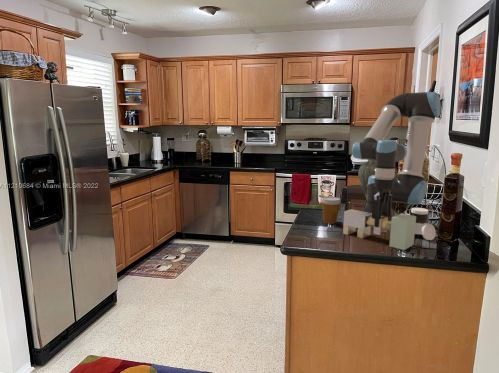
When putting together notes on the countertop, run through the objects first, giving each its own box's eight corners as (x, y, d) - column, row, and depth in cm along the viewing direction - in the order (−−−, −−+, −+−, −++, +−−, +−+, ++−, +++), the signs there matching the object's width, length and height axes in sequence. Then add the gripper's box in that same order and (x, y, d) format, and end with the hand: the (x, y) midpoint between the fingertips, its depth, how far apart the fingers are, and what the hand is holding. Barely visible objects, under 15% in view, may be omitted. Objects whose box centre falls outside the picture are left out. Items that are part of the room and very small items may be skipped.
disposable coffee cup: (340, 220, 182) (341, 197, 180) (339, 225, 173) (340, 201, 171) (320, 218, 185) (321, 195, 183) (319, 223, 176) (320, 199, 174)
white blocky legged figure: (350, 230, 166) (351, 209, 164) (370, 235, 159) (372, 213, 157) (342, 233, 161) (343, 211, 159) (363, 238, 154) (364, 216, 152)
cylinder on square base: (352, 222, 164) (352, 210, 163) (395, 232, 150) (396, 219, 149) (346, 224, 160) (347, 212, 159) (390, 234, 146) (391, 221, 145)
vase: (390, 200, 230) (394, 152, 224) (399, 208, 208) (403, 156, 203) (354, 198, 233) (357, 152, 227) (359, 206, 211) (362, 155, 206)
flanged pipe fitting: (411, 230, 166) (413, 206, 164) (438, 235, 159) (441, 210, 157) (403, 237, 157) (405, 211, 155) (431, 242, 150) (434, 215, 148)
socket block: (398, 241, 151) (401, 213, 149) (413, 244, 147) (416, 216, 145) (389, 246, 145) (391, 217, 143) (404, 250, 141) (406, 220, 139)
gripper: (385, 174, 157) (381, 226, 161) (364, 179, 144) (361, 235, 149) (402, 176, 151) (398, 230, 156) (382, 181, 139) (378, 239, 143)
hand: (380, 232), depth 152 cm, fingers closed on cylinder on square base, 5 cm apart
